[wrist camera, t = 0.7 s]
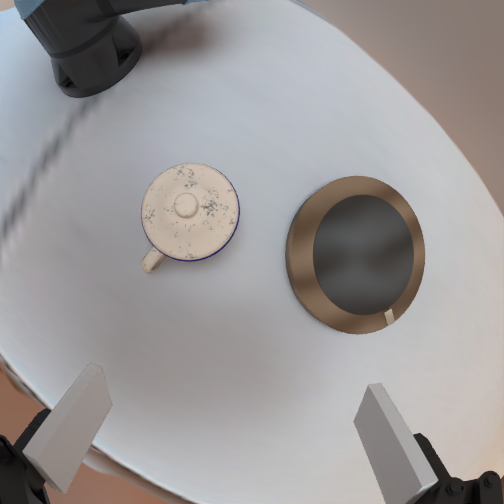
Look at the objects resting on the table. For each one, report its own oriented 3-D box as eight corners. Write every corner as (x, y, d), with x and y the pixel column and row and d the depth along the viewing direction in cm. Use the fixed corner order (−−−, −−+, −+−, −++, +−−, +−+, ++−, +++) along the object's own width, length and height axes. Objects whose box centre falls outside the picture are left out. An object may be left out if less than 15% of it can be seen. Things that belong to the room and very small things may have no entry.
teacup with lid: (195, 171, 33) (185, 130, 21) (249, 220, 34) (266, 200, 22) (129, 243, 32) (89, 236, 20) (183, 294, 32) (165, 312, 21)
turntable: (260, 211, 34) (265, 206, 30) (383, 166, 36) (395, 159, 33) (318, 354, 34) (327, 362, 31) (425, 289, 37) (439, 291, 33)
